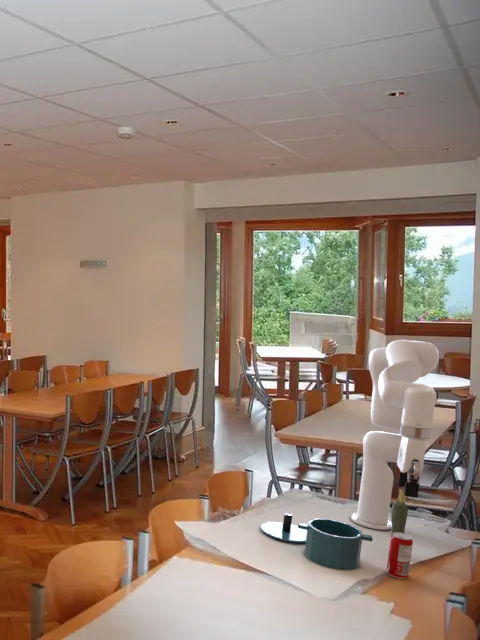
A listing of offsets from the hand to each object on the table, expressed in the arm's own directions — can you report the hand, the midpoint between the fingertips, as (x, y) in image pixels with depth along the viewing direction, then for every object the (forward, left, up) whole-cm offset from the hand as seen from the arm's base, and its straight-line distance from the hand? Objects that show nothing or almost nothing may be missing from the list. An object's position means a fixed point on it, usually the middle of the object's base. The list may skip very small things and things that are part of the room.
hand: (407, 491), depth 209 cm
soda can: (0, 0, -25) cm, 25 cm away
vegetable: (-18, +2, -25) cm, 31 cm away
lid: (-17, -29, -24) cm, 41 cm away
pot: (-3, -17, -25) cm, 30 cm away
